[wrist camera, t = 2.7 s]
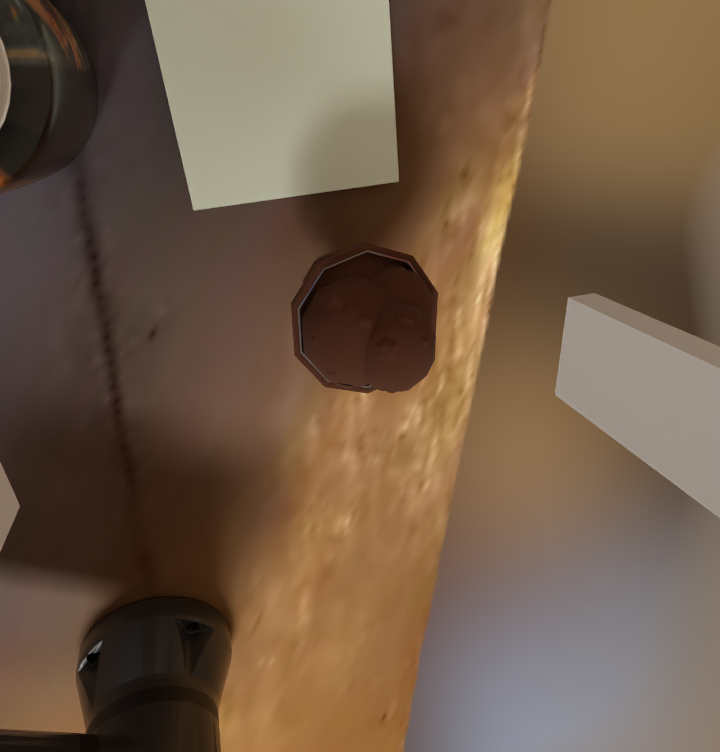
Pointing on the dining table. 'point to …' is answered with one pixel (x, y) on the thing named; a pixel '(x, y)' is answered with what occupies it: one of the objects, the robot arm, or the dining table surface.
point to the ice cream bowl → (366, 320)
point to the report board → (278, 95)
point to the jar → (41, 92)
